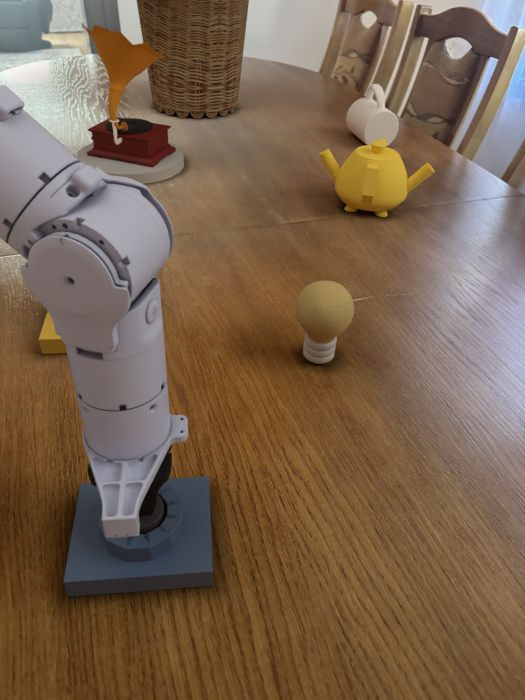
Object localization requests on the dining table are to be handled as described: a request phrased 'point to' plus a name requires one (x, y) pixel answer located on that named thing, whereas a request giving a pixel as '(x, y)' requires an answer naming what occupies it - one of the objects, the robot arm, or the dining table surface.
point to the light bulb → (323, 318)
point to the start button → (152, 518)
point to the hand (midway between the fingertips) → (140, 508)
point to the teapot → (373, 178)
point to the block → (143, 545)
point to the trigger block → (50, 338)
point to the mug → (372, 118)
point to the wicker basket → (195, 54)
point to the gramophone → (128, 119)
